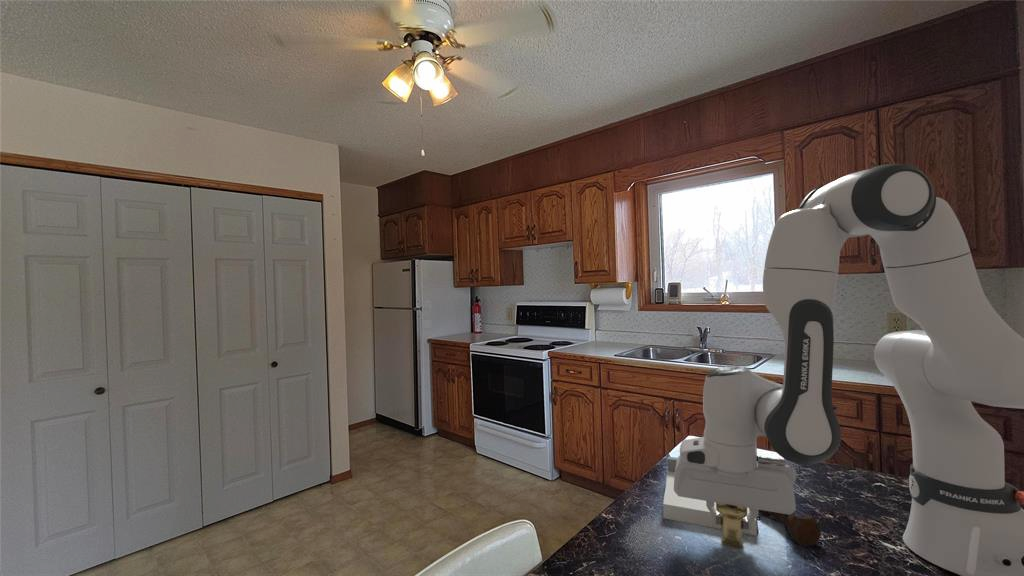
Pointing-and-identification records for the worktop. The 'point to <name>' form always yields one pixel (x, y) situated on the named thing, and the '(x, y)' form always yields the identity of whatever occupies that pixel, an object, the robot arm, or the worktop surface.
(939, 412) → the robot arm
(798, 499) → the worktop surface
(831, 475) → the worktop surface
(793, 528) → the bolt
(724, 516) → the bushing
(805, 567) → the worktop surface
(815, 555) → the worktop surface
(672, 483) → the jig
